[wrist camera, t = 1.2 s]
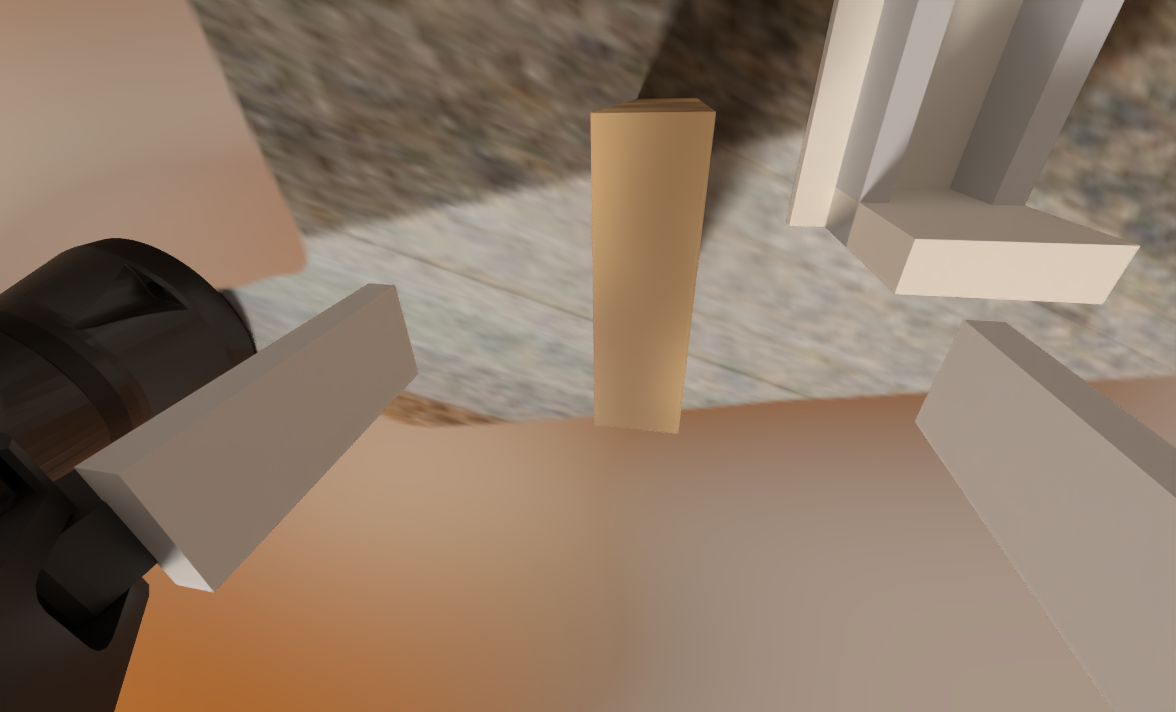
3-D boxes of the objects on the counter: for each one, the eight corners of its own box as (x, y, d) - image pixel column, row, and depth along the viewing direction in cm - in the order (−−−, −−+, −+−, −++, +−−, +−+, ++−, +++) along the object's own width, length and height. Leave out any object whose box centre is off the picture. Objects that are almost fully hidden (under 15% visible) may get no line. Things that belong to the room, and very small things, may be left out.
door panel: (629, 281, 28) (592, 424, 16) (634, 99, 23) (586, 113, 11) (680, 284, 27) (680, 434, 16) (698, 97, 22) (720, 111, 10)
